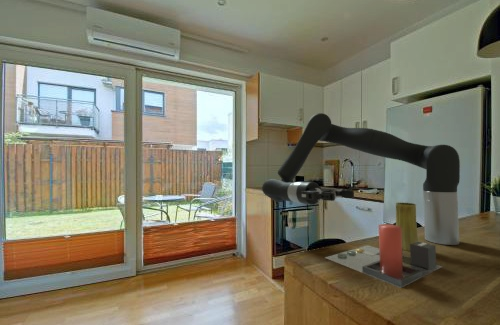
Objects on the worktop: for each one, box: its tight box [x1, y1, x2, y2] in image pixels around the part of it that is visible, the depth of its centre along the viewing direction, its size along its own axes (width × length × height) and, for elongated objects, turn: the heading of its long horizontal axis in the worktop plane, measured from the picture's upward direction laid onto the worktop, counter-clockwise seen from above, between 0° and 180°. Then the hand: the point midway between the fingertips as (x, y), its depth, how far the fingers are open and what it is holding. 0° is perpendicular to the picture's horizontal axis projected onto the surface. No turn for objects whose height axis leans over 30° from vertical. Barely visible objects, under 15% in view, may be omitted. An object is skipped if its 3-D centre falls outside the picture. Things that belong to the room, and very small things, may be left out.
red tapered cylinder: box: [378, 223, 403, 278], centre depth 55 cm, size 5×5×11 cm
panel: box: [324, 244, 443, 289], centre depth 62 cm, size 20×20×2 cm
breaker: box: [409, 241, 437, 269], centre depth 60 cm, size 4×4×5 cm
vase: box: [395, 202, 419, 252], centre depth 74 cm, size 6×6×14 cm
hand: (343, 195), depth 68 cm, fingers open, 8 cm apart
